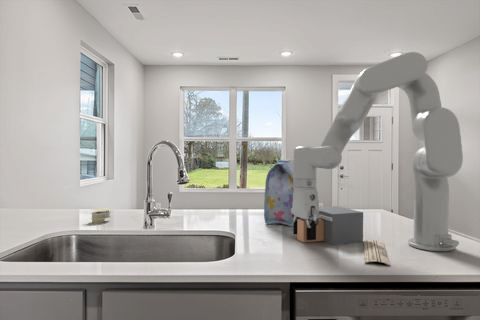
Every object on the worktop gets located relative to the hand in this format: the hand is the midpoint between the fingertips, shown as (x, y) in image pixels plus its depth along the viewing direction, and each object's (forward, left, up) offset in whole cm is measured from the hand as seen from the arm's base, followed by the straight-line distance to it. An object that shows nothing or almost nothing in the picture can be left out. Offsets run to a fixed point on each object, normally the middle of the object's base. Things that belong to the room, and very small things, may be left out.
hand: (304, 236), depth 115 cm
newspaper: (-20, -13, -2) cm, 23 cm away
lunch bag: (+32, -11, -2) cm, 34 cm away
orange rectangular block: (0, -8, -1) cm, 8 cm away
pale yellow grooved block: (+57, +64, -2) cm, 86 cm away
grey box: (0, -12, -1) cm, 12 cm away
